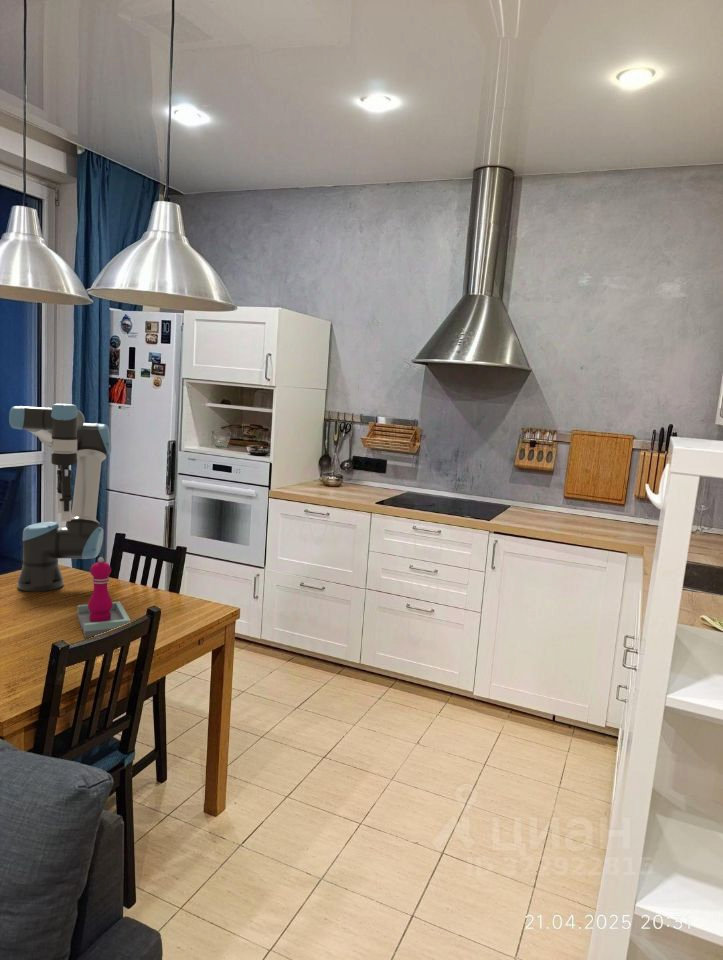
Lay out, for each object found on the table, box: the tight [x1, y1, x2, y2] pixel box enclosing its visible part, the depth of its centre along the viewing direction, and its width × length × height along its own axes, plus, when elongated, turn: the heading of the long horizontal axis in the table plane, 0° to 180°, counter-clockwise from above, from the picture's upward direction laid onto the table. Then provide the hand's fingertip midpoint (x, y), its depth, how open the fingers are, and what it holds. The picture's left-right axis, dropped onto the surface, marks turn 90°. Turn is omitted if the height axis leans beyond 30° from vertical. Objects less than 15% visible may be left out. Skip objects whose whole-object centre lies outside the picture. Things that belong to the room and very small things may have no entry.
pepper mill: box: [87, 556, 113, 622], centre depth 207 cm, size 7×7×20 cm
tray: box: [77, 600, 131, 639], centre depth 209 cm, size 19×13×4 cm
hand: (63, 516), depth 215 cm, fingers open, 13 cm apart
